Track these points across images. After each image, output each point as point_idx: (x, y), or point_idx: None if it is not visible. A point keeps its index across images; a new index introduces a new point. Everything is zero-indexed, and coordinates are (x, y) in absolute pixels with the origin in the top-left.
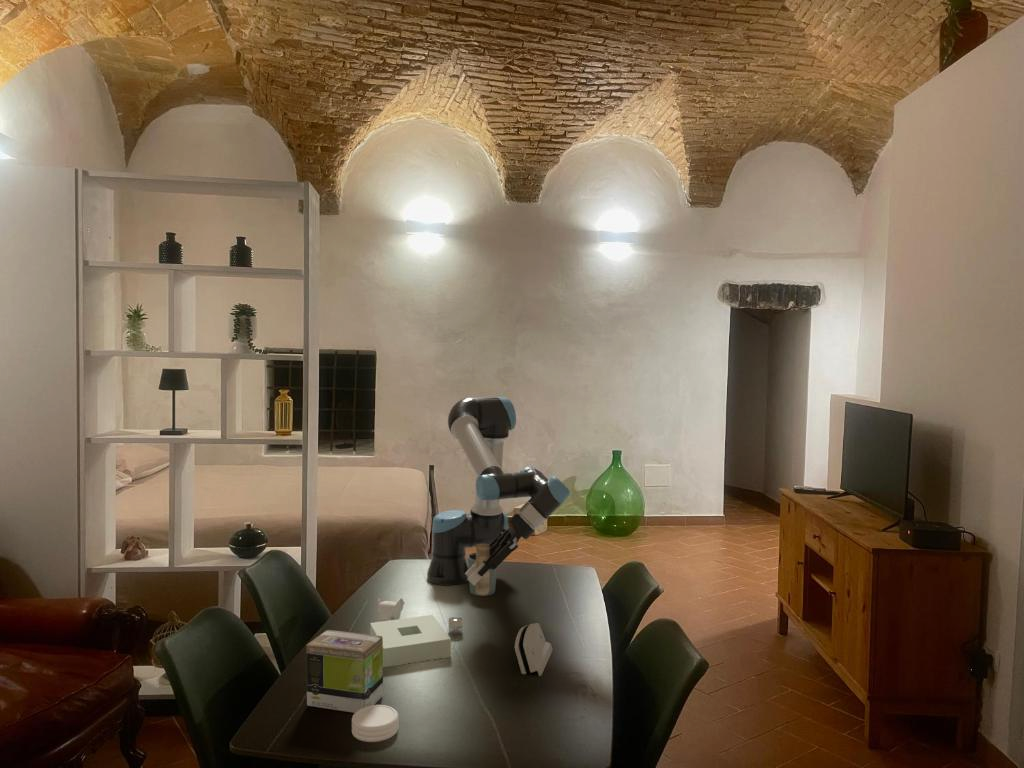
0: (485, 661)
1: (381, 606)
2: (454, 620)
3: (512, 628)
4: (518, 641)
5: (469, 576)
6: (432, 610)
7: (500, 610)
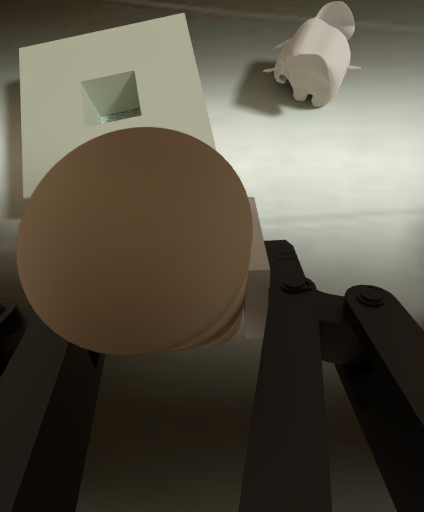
0: None
1: (300, 27)
2: None
3: (208, 431)
4: None
5: None
6: (384, 191)
7: None
